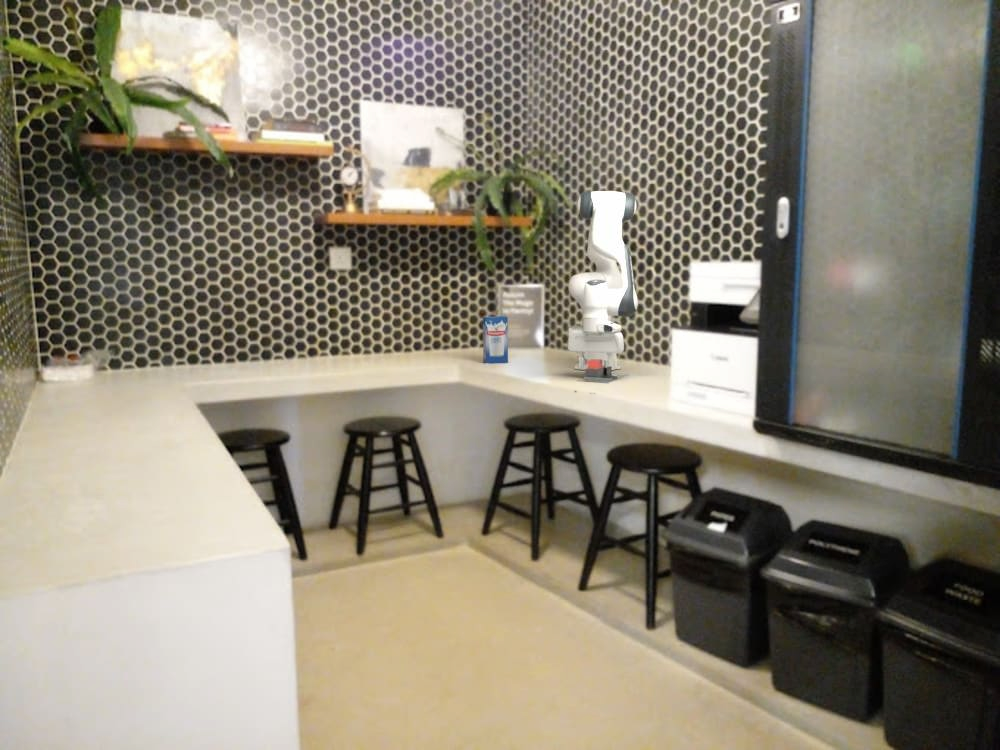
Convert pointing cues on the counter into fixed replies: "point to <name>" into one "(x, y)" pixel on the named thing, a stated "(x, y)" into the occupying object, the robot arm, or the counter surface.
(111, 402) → the counter surface
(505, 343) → the milk carton
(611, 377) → the panel
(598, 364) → the red block
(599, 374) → the breaker
